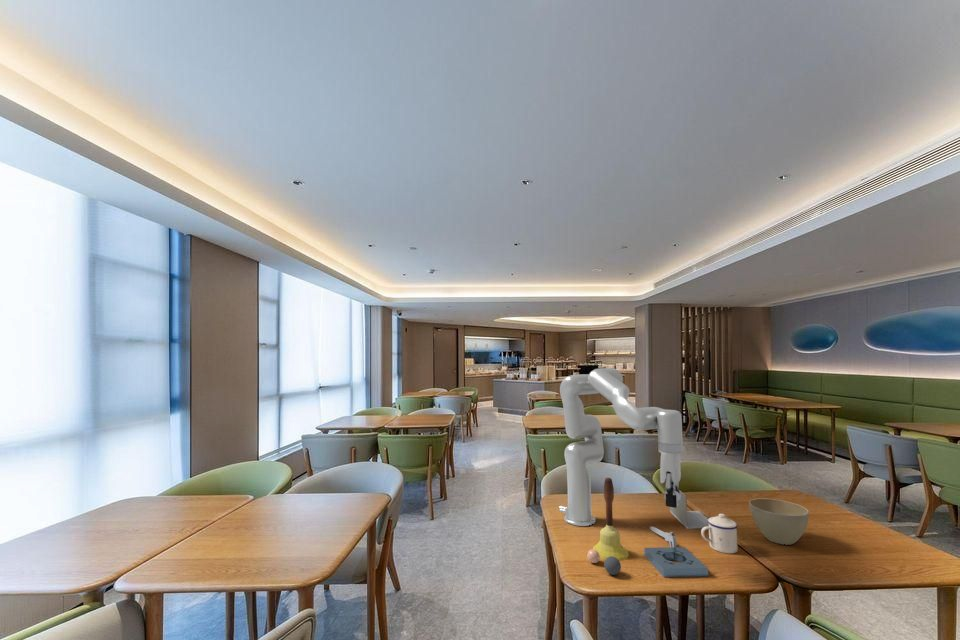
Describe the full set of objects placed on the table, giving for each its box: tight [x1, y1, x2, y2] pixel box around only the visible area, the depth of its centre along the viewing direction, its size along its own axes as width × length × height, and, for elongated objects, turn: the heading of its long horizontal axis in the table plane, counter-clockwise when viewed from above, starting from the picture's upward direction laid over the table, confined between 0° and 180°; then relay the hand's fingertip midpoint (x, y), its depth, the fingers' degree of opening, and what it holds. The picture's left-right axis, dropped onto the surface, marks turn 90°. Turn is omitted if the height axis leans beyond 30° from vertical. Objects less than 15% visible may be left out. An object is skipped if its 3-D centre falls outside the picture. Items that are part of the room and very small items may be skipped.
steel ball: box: [664, 491, 681, 505], centre depth 138 cm, size 5×5×5 cm
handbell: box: [591, 477, 630, 562], centre depth 146 cm, size 12×12×25 cm
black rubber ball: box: [603, 556, 622, 576], centre depth 131 cm, size 5×5×5 cm
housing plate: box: [643, 546, 709, 578], centre depth 136 cm, size 14×14×2 cm
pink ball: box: [586, 548, 601, 564], centre depth 138 cm, size 4×4×4 cm
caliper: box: [649, 526, 678, 547], centre depth 155 cm, size 20×1×6 cm, turn 1°
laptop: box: [669, 489, 709, 530], centre depth 174 cm, size 18×12×13 cm
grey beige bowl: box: [748, 497, 810, 545], centre depth 155 cm, size 18×18×12 cm
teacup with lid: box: [700, 513, 738, 554], centre depth 149 cm, size 12×9×12 cm
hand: (672, 503), depth 138 cm, fingers closed on steel ball, 5 cm apart
